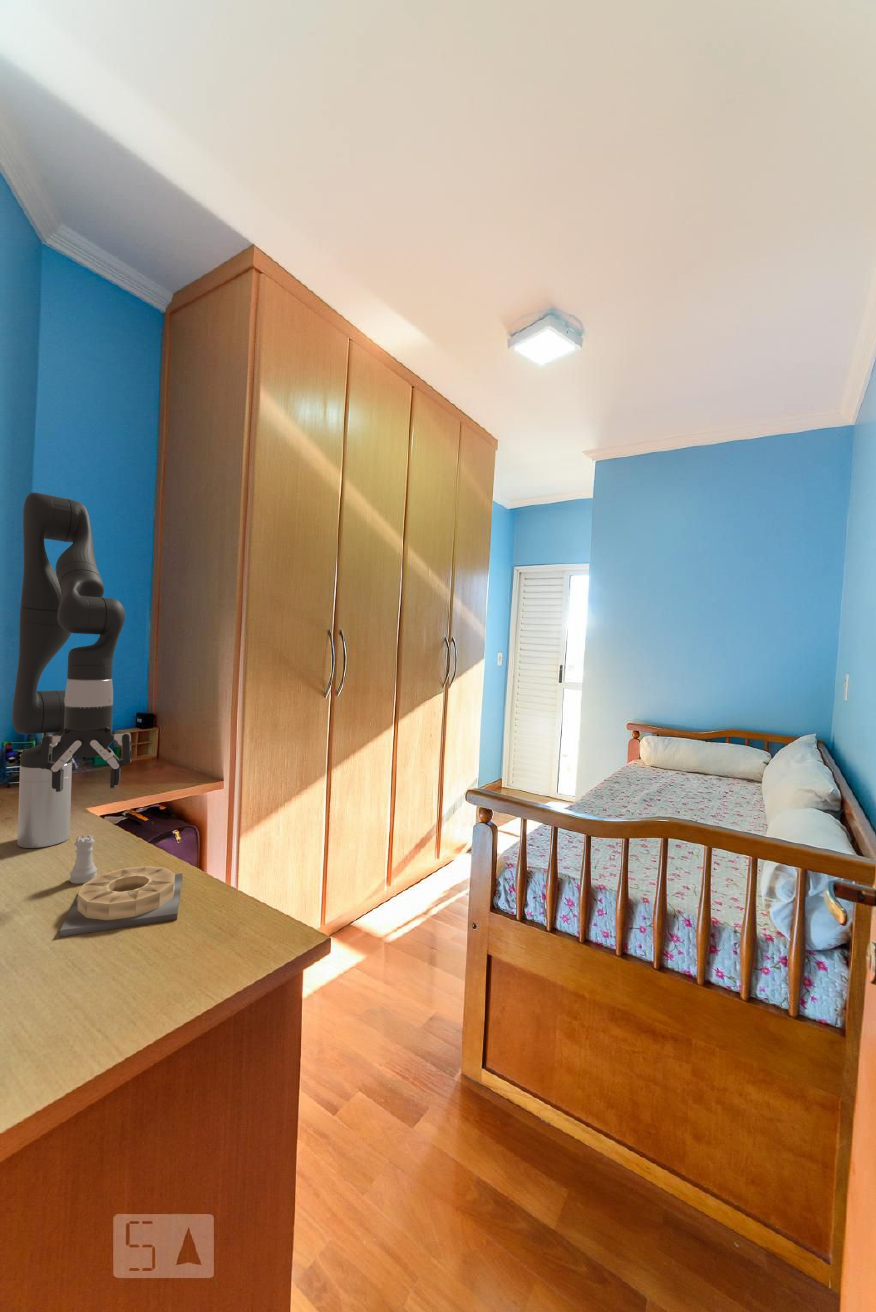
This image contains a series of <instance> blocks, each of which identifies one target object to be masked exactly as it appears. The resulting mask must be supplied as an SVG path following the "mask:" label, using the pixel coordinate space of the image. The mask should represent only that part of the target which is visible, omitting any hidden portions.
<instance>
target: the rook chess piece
mask: <svg viewBox="0 0 876 1312" xmlns="http://www.w3.org/2000/svg"><path fill="white" fill-rule="evenodd" d="M95 842H96V840H95V839H94V835H91V834H87V835H85V834H84V835H81V836H77V838H76V841H75V842H74V843H73V844H74V846H75V847H76V850H75V853H76V856H75V857H76V858H75V863H74V866H73V868H72V870H71V871H70V873H69V876H70V877H69V882H71V884H73V885H83V884H85V883H87V882H88V881H90V880H92V879H94V878H96V877H97V876H99V875H98V873H97V872H98V868H97V866H95V865H96V864H95V863H94V860H93V859H94V858H93V850H94V847H93V845H94V844H95Z"/></svg>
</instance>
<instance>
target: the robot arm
mask: <svg viewBox="0 0 876 1312" xmlns="http://www.w3.org/2000/svg"><path fill="white" fill-rule="evenodd" d="M22 520H23V521H22V525H23V526H22V527H23V528H22V529H23V533H22V534H23V539H22V540H23V575H22V577H23V578H22V586H21V588H22V589H21V596H20V597H21V598H20V609H19V611H20V612H19V645H18V646H19V647H18V653H19V654H18V663H17V664H18V665H17V672H16V673H17V674H16V679H15V687H14V695H13V703H12V710H11V711H12V714H11V717H12V718H11V719H12V727H13V729H14V731H15V732H16V733H17V734H18V735H36V734H46V735H44V736H43V737H42V739H41V743H39V744H37V745H36V746H33V747H30V748H28V749H27V748H26V749H25V750H24V751H22V752H21V754H20V757H19V784H18V785H19V787H18V789H19V790H18V792H19V793H18V817H17V819H18V820H17V844H16V845H17V846H18V847H21V848H24V849H35V848H36V849H37V848H38V849H39V848H46V847H49V846H55V845H57V844H61V843H63V842H65V841H67V840H69V838H70V834H71V833H70V832H71V830H70V829H71V802H72V801H71V800H72V778H73V776H72V774H73V772H72V769H73V757H74V758H76V759H83V758H84V759H85V758H91V759H93V758H95V759H96V758H98V757H101V758H102V759H103V760H104V761H105V762H107V764H108V765H109V767H111V769H110V780H109V781H110V783H109V784H110V785H109V789H110V790H111V789H116V787H117V786H118V785H120V782H121V772H122V771H121V768H122V767H125V766H129V765H130V763H131V762H132V760H133V752H132V734H131V732H129V731H126V732H125V733H117V734H116V733H114V731H113V712H114V711H113V708H114V686H113V685H114V684H113V661H114V656H115V651H116V647H117V644H118V640H119V638H120V636H121V633H122V631H123V627H124V624H125V620H126V610H125V607H124V606H123V604H122V603H121V602H120V601H119V600H118V599H116V598H111V597H110V598H109V597H103V596H104V594H105V585H104V582H103V579H102V576H101V574H100V572H99V569H98V566H97V562H96V558H95V550H94V549H95V548H94V540H93V539H94V538H93V533H92V525H91V519H90V516H89V512H88V510H87V508H86V506H85V505H84V504H83V503H81V502H79V501H77V500H73V499H70V498H64V497H60V496H53V495H50V494H45V493H40V492H30V493H29V494H27V496H26V498H25V500H24V505H23V513H22ZM45 539H46V540H52V541H58V542H64V543H72V544H71V545H70V546H69V547H68V548H66V550H64V551H63V552H62V553H61V554H60V556H59V557H58V559H57V561H56V564H55V569H54V567H53V566H52V564H51V562H50V560H49V557H48V554H47V551H46V547H45V546H46V545H45ZM72 634H78V635H79V634H80V635H81V634H82V635H83V634H84V635H99V638H98V639H97V640H96V642H95V643H93V644H90V645H85V646H78V647H74V648H71V649H70V650H69V652H68V655H67V672H66V673H67V676H66V678H67V680H66V687H65V690H38V685H39V682H40V679H41V676H42V674H43V672H44V670H45V668H46V667H47V665H48V664H49V663H50V662H51V660H52V659H53V658H54V657H55V656H56V655H57V654H58V653H59V651H61V649H62V648H63V646H65V644H66V643H67V641H68V640H69V639H70V637H71V635H72ZM37 690H38V691H37ZM48 733H49V734H48ZM114 741H116V742H117V744H118V745H119V746H121V747H122V758H121V759H119V757H117V755H116V754H115V753H114V751H113V749H111V748H110V747H109V746H111V744H112V743H113V742H114Z"/></svg>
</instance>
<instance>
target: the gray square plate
mask: <svg viewBox="0 0 876 1312" xmlns="http://www.w3.org/2000/svg"><path fill="white" fill-rule="evenodd" d="M182 884H183V873H175V872H173V871H171V870H169V869H168V868H166V867H162V866H161V867H160V866H150V865H143V866H142V865H141V866H132V867H124V868H120V869H116V870H113V871H109V872H106V873H102V874H99V875H97V877H96V878H94V879H92V880H90V881H88V882H87V883H84V884H82V886H81V888H80V890H79V892H78V893H77V897H76V899H75V901H74V903H73V905H72V907H71V908H70V910H69V913H68V914H67V917H66V918H65V920H64V922H63V923H62V926H61V928H60V930H59V938H60V937H66V936H67V937H68V936H74V935H75V936H76V935H80V934H87V933H95V932H100V931H108V930H115V929H121V928H128V927H135V926H141V925H142V926H143V925H147V924H148V925H149V924H155V923H162V922H169V921H174V920H178V915H179V906H180V898H181V892H182Z"/></svg>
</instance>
